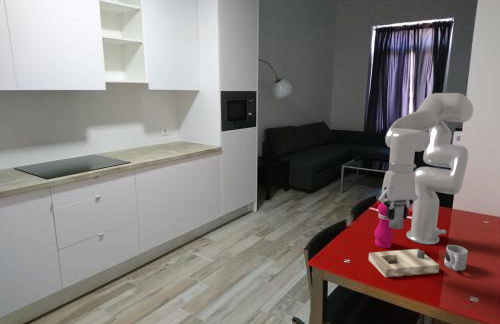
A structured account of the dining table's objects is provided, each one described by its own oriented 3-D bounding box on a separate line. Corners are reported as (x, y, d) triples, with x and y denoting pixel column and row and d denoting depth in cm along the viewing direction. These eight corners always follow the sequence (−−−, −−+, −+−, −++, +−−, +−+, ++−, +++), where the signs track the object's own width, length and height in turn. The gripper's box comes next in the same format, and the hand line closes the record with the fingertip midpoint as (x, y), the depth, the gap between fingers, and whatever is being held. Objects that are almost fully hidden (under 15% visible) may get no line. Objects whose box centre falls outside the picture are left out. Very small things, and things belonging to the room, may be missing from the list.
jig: (417, 256, 127) (418, 244, 126) (438, 272, 115) (440, 259, 114) (368, 260, 124) (369, 247, 123) (385, 277, 112) (386, 264, 111)
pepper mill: (390, 250, 131) (394, 203, 127) (372, 246, 135) (375, 200, 131) (393, 243, 137) (397, 198, 133) (375, 239, 141) (378, 195, 137)
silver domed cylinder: (398, 223, 119) (400, 197, 117) (407, 229, 113) (410, 201, 111) (384, 224, 118) (386, 197, 116) (392, 230, 113) (395, 202, 111)
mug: (444, 259, 124) (446, 243, 122) (465, 264, 121) (467, 247, 119) (444, 272, 115) (446, 254, 114) (466, 277, 112) (469, 259, 111)
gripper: (416, 164, 116) (412, 212, 120) (372, 166, 114) (368, 215, 118) (430, 169, 109) (425, 220, 112) (383, 171, 106) (379, 224, 110)
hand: (396, 217), depth 115 cm, fingers closed on silver domed cylinder, 4 cm apart
